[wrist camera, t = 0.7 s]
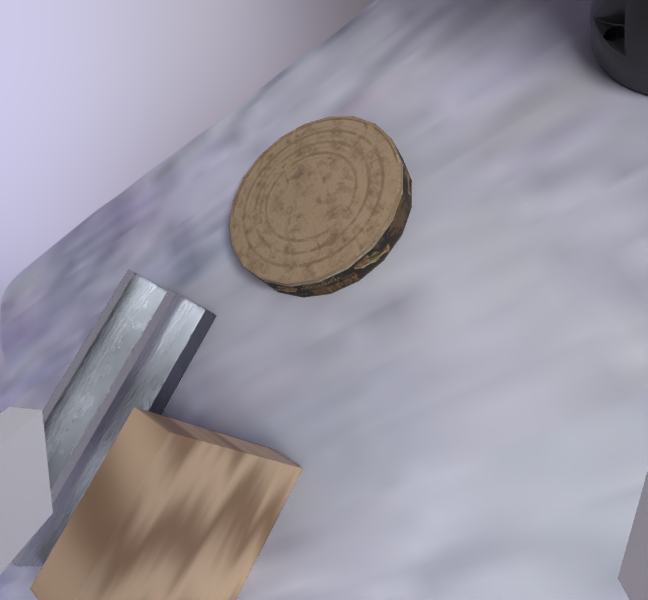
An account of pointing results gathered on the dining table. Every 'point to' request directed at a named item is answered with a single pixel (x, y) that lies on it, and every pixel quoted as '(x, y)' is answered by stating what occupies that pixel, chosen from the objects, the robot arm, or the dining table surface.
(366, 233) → the wood log slice
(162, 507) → the door
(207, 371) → the dining table surface
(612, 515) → the dining table surface
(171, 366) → the track
